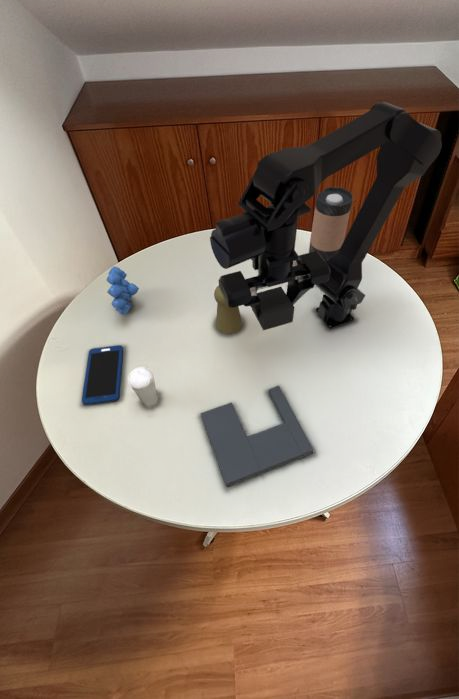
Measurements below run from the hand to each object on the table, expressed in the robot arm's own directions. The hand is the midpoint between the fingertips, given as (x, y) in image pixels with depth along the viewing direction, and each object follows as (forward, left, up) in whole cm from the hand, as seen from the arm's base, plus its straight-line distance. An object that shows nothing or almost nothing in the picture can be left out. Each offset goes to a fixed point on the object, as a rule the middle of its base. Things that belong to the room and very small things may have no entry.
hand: (272, 312), depth 70 cm
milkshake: (+27, +3, -11) cm, 29 cm away
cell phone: (+35, -7, -11) cm, 37 cm away
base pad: (+11, +17, -11) cm, 23 cm away
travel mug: (-22, -18, -11) cm, 31 cm away
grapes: (+26, -24, -11) cm, 37 cm away
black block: (0, 0, -1) cm, 1 cm away
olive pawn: (+6, -10, -11) cm, 16 cm away
